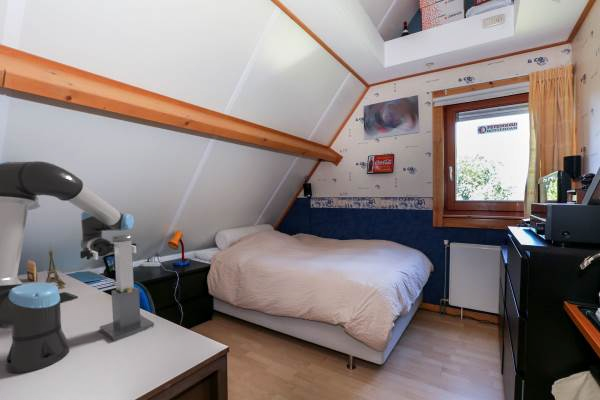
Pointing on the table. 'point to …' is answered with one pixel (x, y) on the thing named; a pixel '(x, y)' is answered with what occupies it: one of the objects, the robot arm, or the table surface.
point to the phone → (66, 297)
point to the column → (123, 263)
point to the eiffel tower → (56, 278)
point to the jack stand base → (125, 316)
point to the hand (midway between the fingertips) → (116, 252)
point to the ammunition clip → (31, 271)
